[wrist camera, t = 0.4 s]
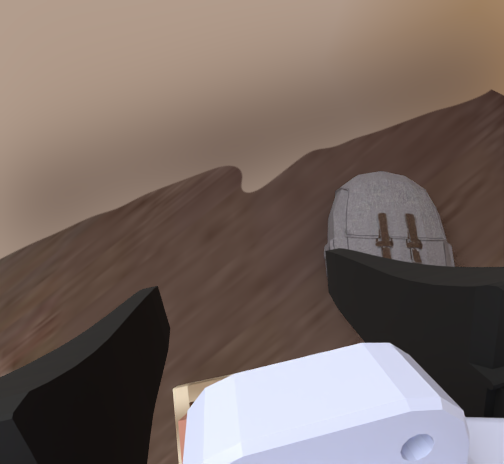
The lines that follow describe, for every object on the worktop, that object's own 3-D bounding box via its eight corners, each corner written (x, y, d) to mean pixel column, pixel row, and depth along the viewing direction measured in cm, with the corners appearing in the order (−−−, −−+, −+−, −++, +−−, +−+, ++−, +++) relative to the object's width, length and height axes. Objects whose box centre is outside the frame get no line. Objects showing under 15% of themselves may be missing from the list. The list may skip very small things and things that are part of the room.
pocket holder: (259, 452, 32) (258, 460, 30) (186, 468, 32) (180, 477, 30) (245, 371, 35) (243, 373, 33) (178, 385, 35) (172, 388, 32)
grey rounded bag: (441, 325, 35) (418, 186, 42) (489, 322, 27) (452, 153, 34) (320, 318, 36) (317, 184, 43) (334, 313, 29) (328, 151, 36)
